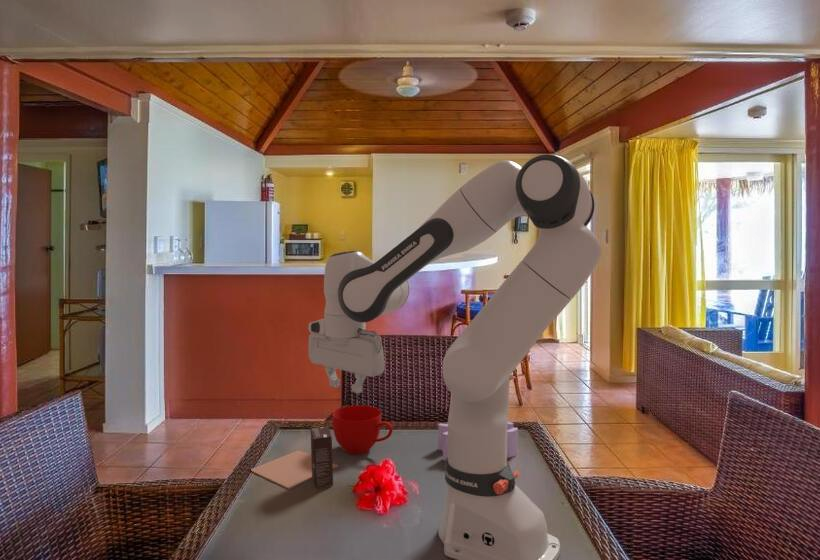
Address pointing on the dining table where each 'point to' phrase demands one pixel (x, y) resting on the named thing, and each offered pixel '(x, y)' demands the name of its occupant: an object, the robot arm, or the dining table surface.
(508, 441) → the clip
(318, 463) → the box
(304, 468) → the mat
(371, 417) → the ceramic cup
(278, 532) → the dining table surface
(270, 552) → the dining table surface
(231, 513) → the dining table surface
